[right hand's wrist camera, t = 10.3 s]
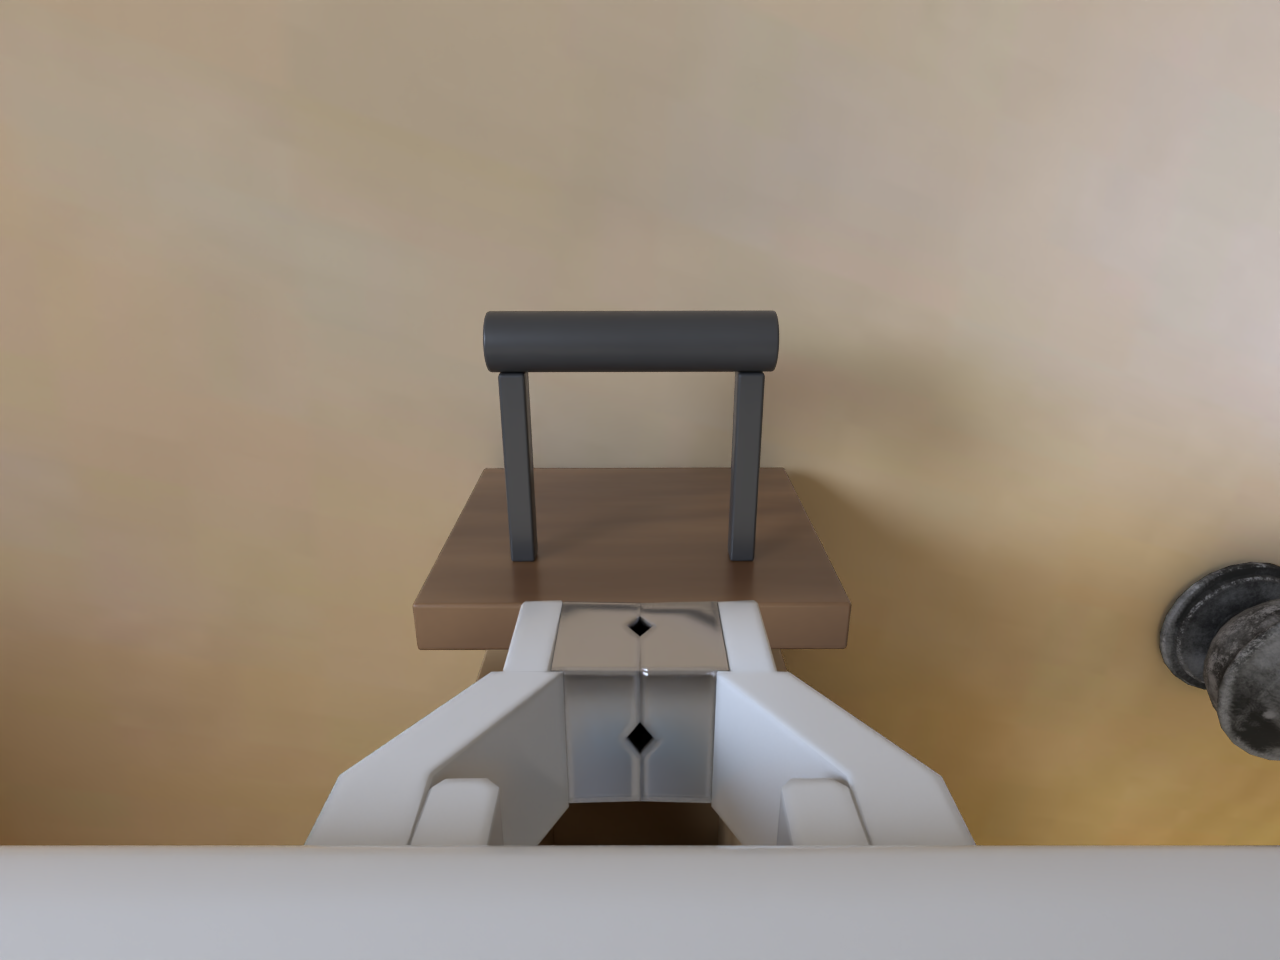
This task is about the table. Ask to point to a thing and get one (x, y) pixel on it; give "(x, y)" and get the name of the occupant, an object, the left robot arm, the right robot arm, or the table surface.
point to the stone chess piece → (1232, 650)
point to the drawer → (631, 525)
